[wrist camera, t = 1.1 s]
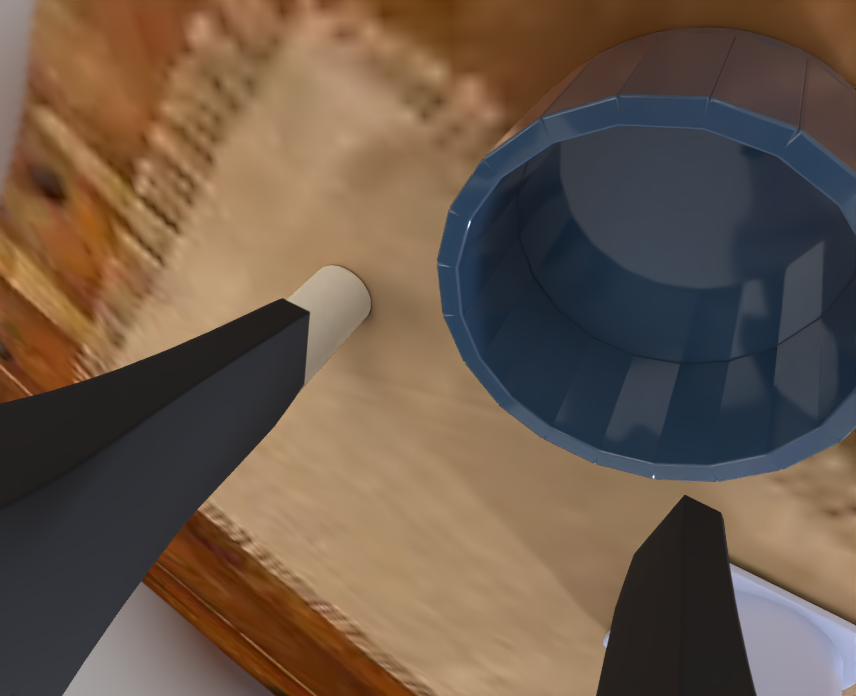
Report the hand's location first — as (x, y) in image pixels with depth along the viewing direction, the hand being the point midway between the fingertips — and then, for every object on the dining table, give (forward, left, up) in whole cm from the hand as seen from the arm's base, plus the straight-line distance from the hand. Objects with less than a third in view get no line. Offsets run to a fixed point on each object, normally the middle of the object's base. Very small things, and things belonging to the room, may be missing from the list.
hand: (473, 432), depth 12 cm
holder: (0, -2, -10) cm, 10 cm away
